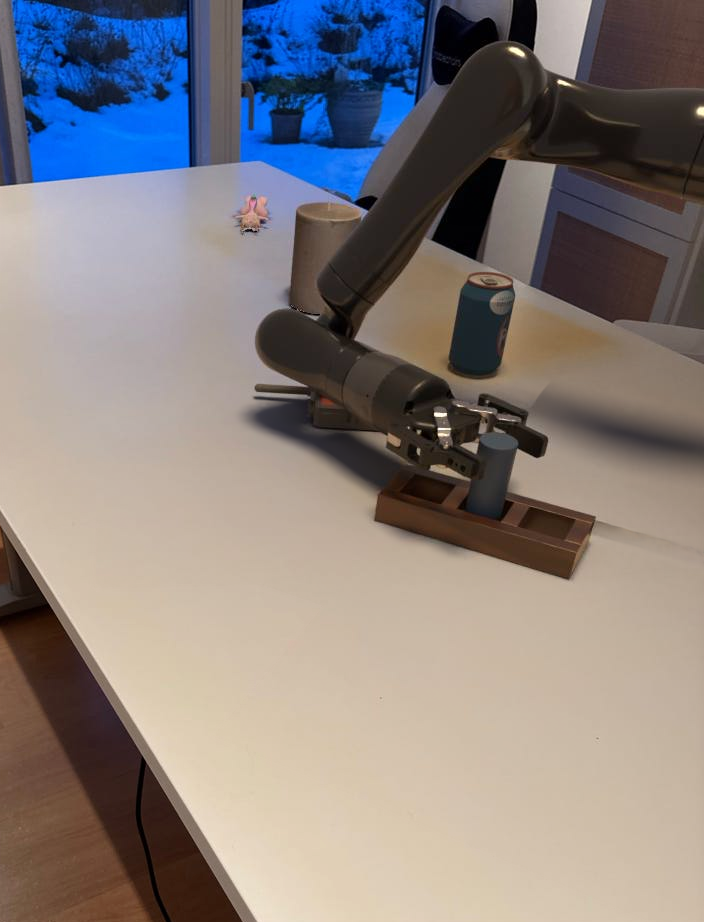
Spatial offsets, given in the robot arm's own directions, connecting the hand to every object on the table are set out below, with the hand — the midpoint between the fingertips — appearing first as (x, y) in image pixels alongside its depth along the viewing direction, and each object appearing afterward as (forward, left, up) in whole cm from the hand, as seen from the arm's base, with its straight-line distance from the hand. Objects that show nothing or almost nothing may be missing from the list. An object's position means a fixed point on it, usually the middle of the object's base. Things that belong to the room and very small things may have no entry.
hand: (514, 459), depth 90 cm
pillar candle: (+44, -51, -9) cm, 68 cm away
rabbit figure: (+74, -84, -9) cm, 112 cm away
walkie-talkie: (+26, -17, -9) cm, 32 cm away
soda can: (+16, -40, -9) cm, 44 cm away
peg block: (+2, -1, -9) cm, 9 cm away
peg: (+2, -1, -9) cm, 9 cm away
